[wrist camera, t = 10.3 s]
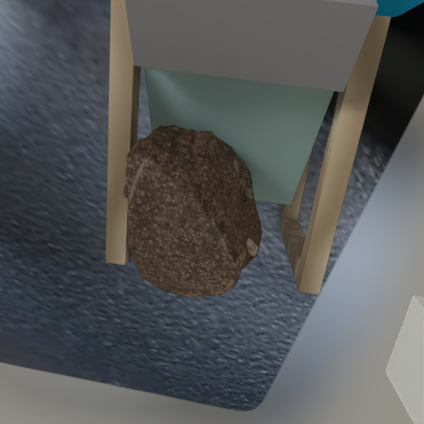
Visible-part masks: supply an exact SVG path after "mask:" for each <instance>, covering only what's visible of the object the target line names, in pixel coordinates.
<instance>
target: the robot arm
mask: <svg viewBox="0 0 424 424" xmlns="http://www.w3.org/2000/svg"><path fill="white" fill-rule="evenodd" d="M385 372H386V374H387V375H388V377H389V379H390V381H391V383H392V385H393V386H394V388H395V390H396V392H397V394H398V396H399V397H400V399H401V401H402V403H403V405H404V407H405V409H406V410H407V412H408V414H409V416H410V418H411V420H412V421H413V423H414V424H424V297H419V296H413V298H412V301H411V303H410V306H409V309H408V311H407V314H406V317H405V320H404V322H403V325H402V328H401V330H400V333H399V336H398V338H397V341H396V344H395V346H394V349H393V352H392V355H391V357H390V360H389V363H388V365H387V368H386V371H385Z"/></svg>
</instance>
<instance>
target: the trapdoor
mask: <svg viewBox="0 0 424 424" xmlns="http://www.w3.org/2000/svg"><path fill="white" fill-rule="evenodd" d="M125 5H126V12H127V19H128V26H129V33H130V40H131V47H132V54H133V61H134V66H139V67H145V76H146V84H147V93H148V101H149V110H150V118H151V127H152V131H153V130H154V129H155V128H158V127H159V126H169V125H177V126H179V127H181V128H184V129H187V130H189V129H194V130H196V131H198V132H200V131H201V130H203V131H211V132H213V133H214V135H215V136H216V137H218V138H219V139H221V140H222V141H223V142H225V143H227V144H228V145H229V146H231V147H232V148H233V149H234V150H235V152H236V155H237V157H238V158H239V159H241V160H242V161H243V162H244V163H245V165H246V166H247V167H248V169H249V171H250V173H251V177H252V182H253V184H252V187H253V192H254V199H255V200H256V201H263V202H270V203H278V204H285V205H290V204H291V202H292V199H293V197H294V194H295V191H296V189H297V186H298V184H299V181H300V178H301V176H302V173H303V171H304V168H305V165H306V163H307V160H308V158H309V155H310V152H311V150H312V147H313V145H314V142H315V139H316V137H317V134H318V132H319V129H320V126H321V124H322V121H323V119H324V116H325V114H326V111H327V108H328V106H329V103H330V101H331V98H332V95H333V93H334V91H339V92H344V89H345V87H346V84H347V82H348V80H349V77H350V75H351V72H352V70H353V67H354V65H355V63H356V60H357V58H358V55H359V53H360V50H361V48H362V45H363V43H364V41H365V38H366V36H367V33H368V31H369V28H370V26H371V24H372V21H373V19H374V16H375V14H376V11H377V9H378V7H379V6H378V4H377V1H376V0H125Z"/></svg>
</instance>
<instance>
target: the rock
mask: <svg viewBox="0 0 424 424" xmlns="http://www.w3.org/2000/svg"><path fill="white" fill-rule="evenodd" d="M126 159H127V166H126V181H127V182H126V185H125V187H124V190H123V196H124V197H126V198H127V201H128V212H127V215H128V228H127V234H128V237H129V240H128V243H129V248H130V251H131V255H132V258H133V260H134V263H135V265H136V267H137V269H138V270H139V272H140V274H141V276H142V277H143V278H144V279H145V280H147V281H149V282H151V283H152V284H154V285H155V286H156V287H158V288H160V289H162V290H164V291H167V292H169V293H174V294H177V295H181V296H189V297H204V296H216V295H221V294H222V293H225V292H227V291H229V290H231V289H232V288H233V287H234V286H236V284H237V281H238V278H239V274H240V273H241V270H242V269H243V268H244V267H245V266H246V265H247V264H248V263H249V262H250V261H251V260H252V259H253V258H254V257H255V256H257V254H258V251H259V250H260V245H259V244H260V240H261V236H262V230H261V222H260V220H259V216H258V212H257V208H256V204H255V199H254V192H253V187H252V184H253V182H252V177H251V173H250V171H249V169H248V167H247V166H246V165H245V163H244V162H243V161H242V160H241V159H239V158H238V157H237V155H236V152H235V150H234V149H233V148H232V147H231V146H229V145H228V144H227V143H225V142H223V141H222V140H221V139H219V138H218V137H216V136H215V135H214V133H213V132H211V131H203V130H201V131H200V132H198V131H196V130H194V129H189V130H187V129H184V128H181V127H179V126H177V125H169V126H159V127H158V128H155V129H154V130H153V131H152V133H151V134H150V135H149V136H148V137H146V138H144V139H141V140H139V141H138V142H137V143H136V145H135V146H134V147H133V148H132V149H131V150H130V152H129V153H128V154H127V157H126Z"/></svg>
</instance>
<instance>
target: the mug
mask: <svg viewBox="0 0 424 424" xmlns="http://www.w3.org/2000/svg"><path fill="white" fill-rule="evenodd" d="M376 1H377V4H378V6H379V7H378V9H377V11H376V14H375V15H378V16H387V17H395V16H399V15H401V14H403V13H405V12H407V11H408V10H410V9H412V8H414V7H416V6H417V5H419V4H421V3H423V2H424V0H376Z"/></svg>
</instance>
